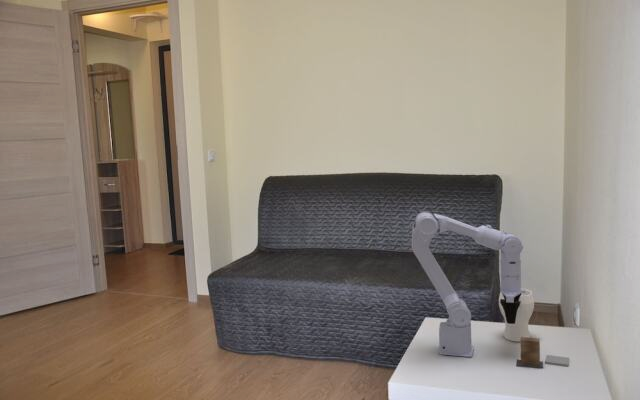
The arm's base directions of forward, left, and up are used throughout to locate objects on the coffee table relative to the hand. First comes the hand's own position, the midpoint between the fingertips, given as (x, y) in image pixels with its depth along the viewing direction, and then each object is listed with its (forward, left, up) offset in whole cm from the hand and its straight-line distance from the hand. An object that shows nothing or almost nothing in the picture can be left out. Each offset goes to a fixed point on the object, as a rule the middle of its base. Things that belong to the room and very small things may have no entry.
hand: (511, 319), depth 163 cm
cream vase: (+1, +12, -10) cm, 16 cm away
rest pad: (+5, -9, -10) cm, 14 cm away
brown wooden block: (+5, -9, -10) cm, 14 cm away
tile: (+9, -5, -10) cm, 14 cm away
